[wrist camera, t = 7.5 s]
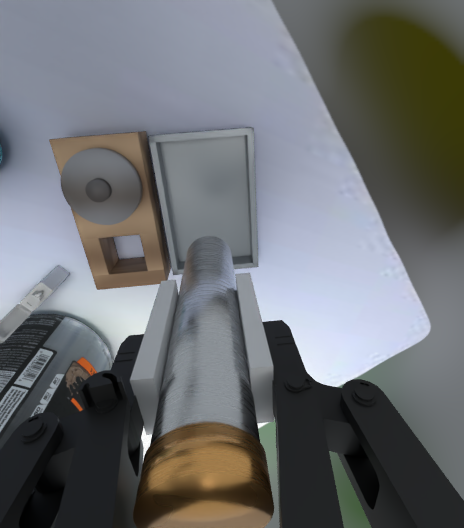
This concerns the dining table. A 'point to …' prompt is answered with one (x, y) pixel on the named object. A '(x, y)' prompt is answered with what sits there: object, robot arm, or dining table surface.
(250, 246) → the tray
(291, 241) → the dining table surface
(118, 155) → the pulley block
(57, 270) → the lighter
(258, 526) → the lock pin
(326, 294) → the dining table surface
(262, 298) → the dining table surface
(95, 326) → the dining table surface
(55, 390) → the supplement tub
